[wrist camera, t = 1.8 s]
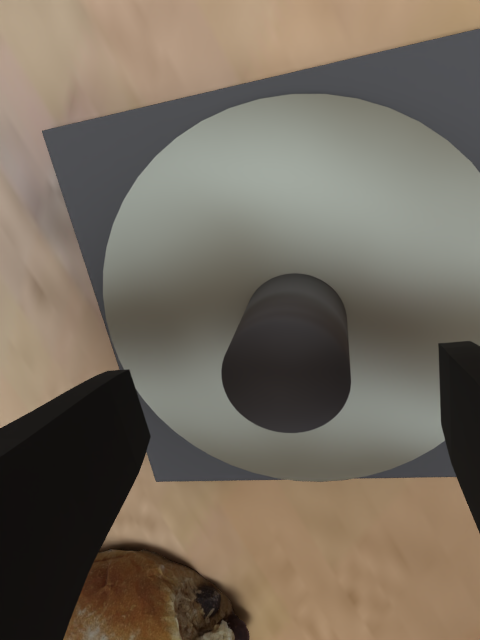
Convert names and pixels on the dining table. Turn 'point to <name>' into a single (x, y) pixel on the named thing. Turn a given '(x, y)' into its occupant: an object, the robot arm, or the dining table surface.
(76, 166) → the mat
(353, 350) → the lid
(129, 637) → the bread roll
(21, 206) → the dining table surface
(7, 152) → the dining table surface
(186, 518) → the dining table surface
